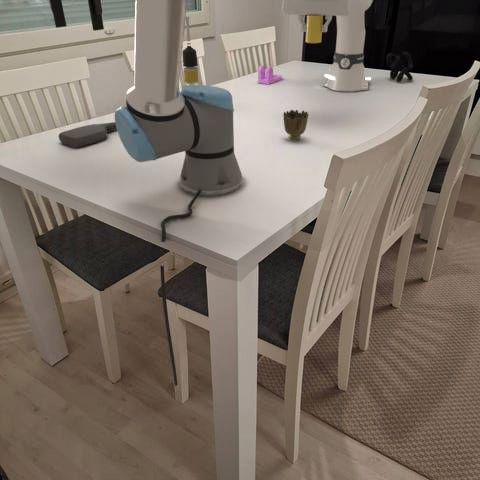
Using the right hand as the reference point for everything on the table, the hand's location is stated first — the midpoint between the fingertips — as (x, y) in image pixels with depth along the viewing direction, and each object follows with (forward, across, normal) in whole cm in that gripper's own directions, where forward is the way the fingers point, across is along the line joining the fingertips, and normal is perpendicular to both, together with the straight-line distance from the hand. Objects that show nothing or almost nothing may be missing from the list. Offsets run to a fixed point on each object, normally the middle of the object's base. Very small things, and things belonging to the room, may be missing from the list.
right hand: (314, 31), depth 136 cm
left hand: (-6, -44, -52) cm, 68 cm away
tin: (+3, 0, 0) cm, 3 cm away
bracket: (+28, -34, +53) cm, 69 cm away
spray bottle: (+28, -57, -38) cm, 74 cm away
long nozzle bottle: (+28, -49, +8) cm, 57 cm away
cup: (+28, +1, -18) cm, 33 cm away
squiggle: (+28, +19, +74) cm, 82 cm away
